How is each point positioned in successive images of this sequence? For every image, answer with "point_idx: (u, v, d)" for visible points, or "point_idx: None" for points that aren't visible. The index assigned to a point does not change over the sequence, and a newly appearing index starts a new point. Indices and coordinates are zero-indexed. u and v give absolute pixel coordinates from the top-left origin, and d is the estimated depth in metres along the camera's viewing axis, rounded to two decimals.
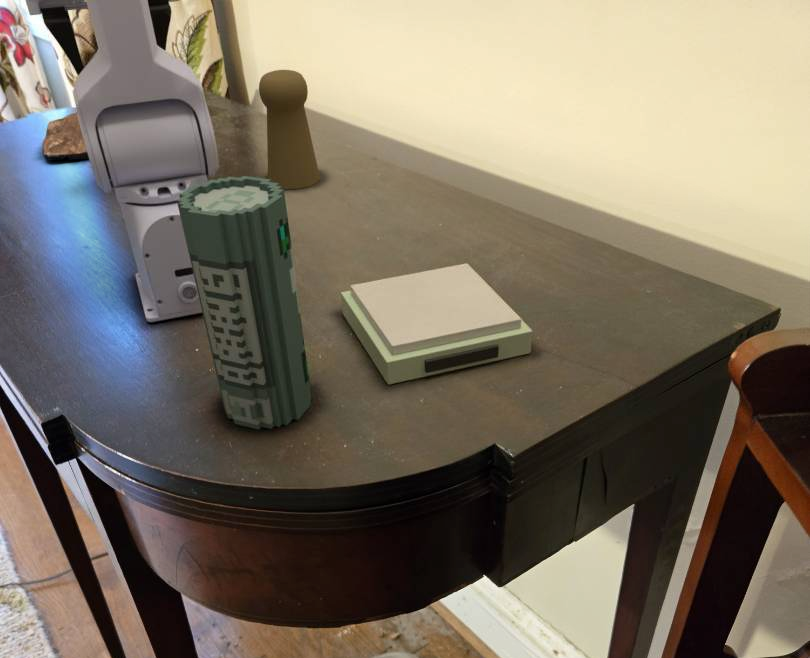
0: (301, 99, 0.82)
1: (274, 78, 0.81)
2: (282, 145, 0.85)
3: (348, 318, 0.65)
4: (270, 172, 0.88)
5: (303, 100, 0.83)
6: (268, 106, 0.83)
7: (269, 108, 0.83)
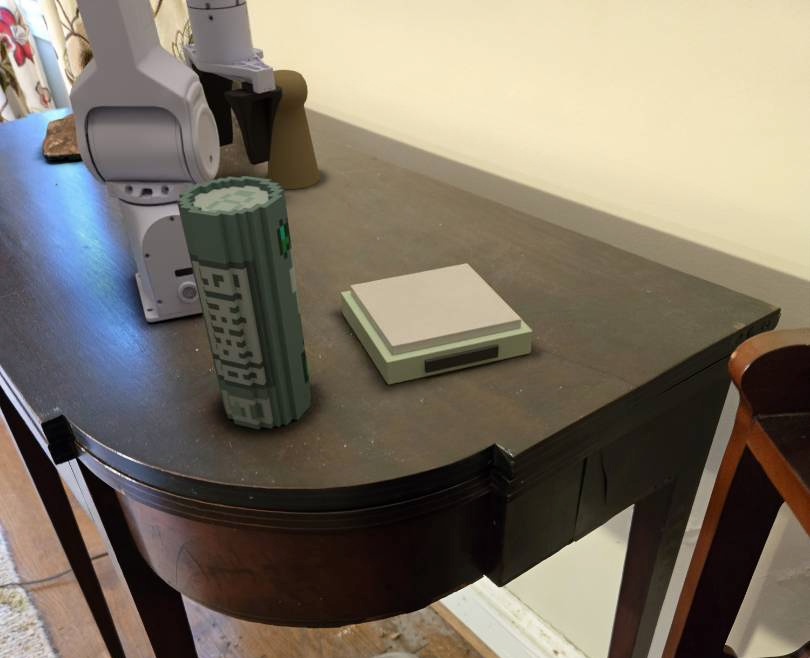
0: (301, 99, 0.82)
1: (274, 78, 0.81)
2: (282, 145, 0.85)
3: (348, 318, 0.65)
4: (270, 172, 0.88)
5: (303, 100, 0.83)
6: None
7: None
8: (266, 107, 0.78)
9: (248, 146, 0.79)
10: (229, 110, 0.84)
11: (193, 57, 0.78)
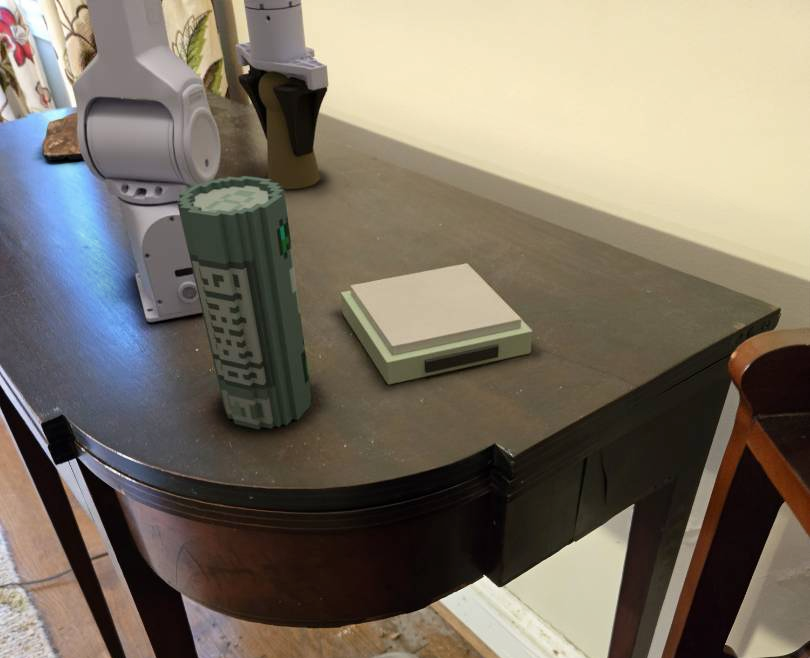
0: None
1: (274, 78, 0.81)
2: (282, 145, 0.85)
3: (348, 318, 0.65)
4: (270, 172, 0.88)
5: None
6: (268, 106, 0.83)
7: (269, 108, 0.83)
8: (311, 101, 0.82)
9: (294, 139, 0.83)
10: None
11: (248, 55, 0.81)
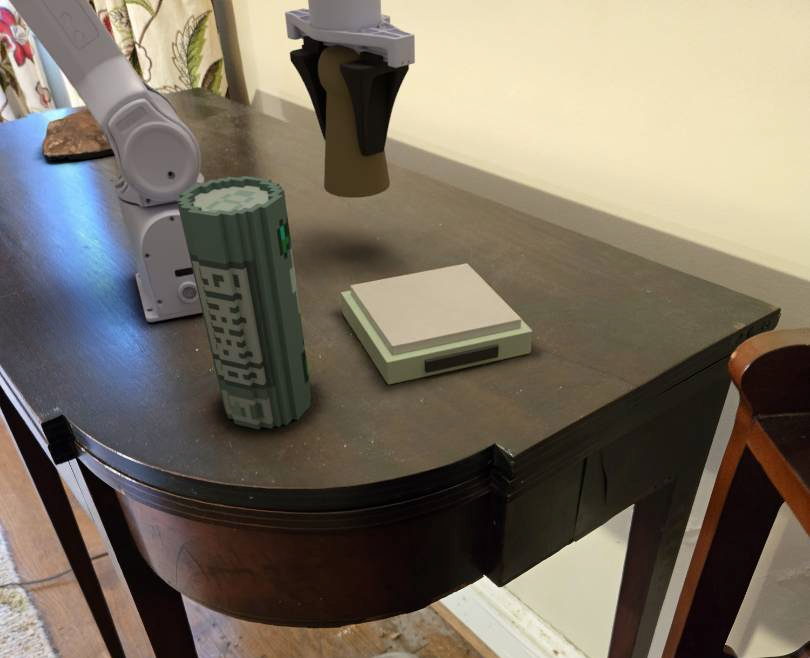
0: None
1: (340, 53, 0.62)
2: (347, 141, 0.66)
3: (348, 318, 0.65)
4: (328, 176, 0.68)
5: None
6: (330, 90, 0.63)
7: (331, 93, 0.64)
8: (387, 84, 0.63)
9: (363, 133, 0.64)
10: None
11: (305, 24, 0.62)
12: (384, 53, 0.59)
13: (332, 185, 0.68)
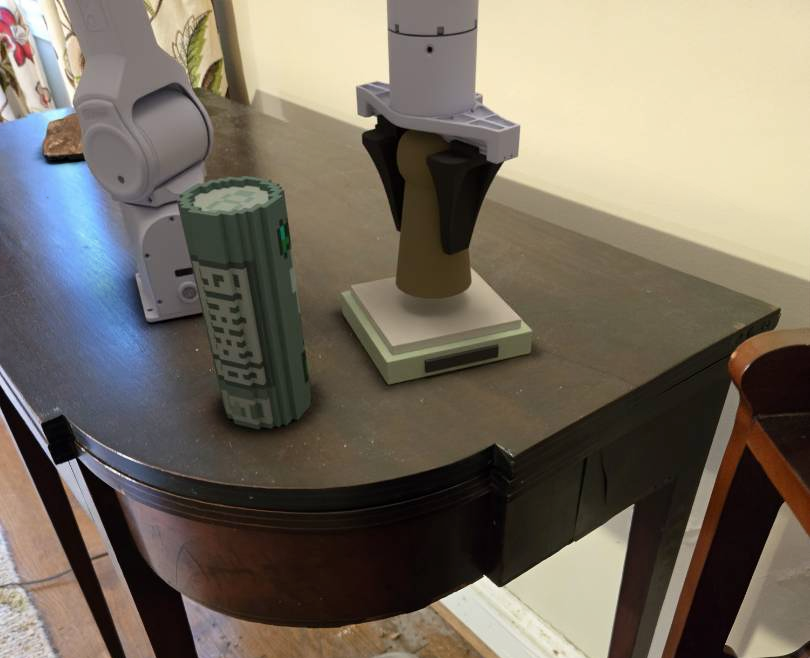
0: None
1: (426, 140, 0.52)
2: (427, 237, 0.56)
3: (348, 318, 0.65)
4: (403, 273, 0.59)
5: None
6: (411, 181, 0.54)
7: (412, 183, 0.54)
8: (479, 175, 0.53)
9: (448, 231, 0.54)
10: None
11: (384, 105, 0.52)
12: (481, 144, 0.50)
13: (407, 284, 0.59)
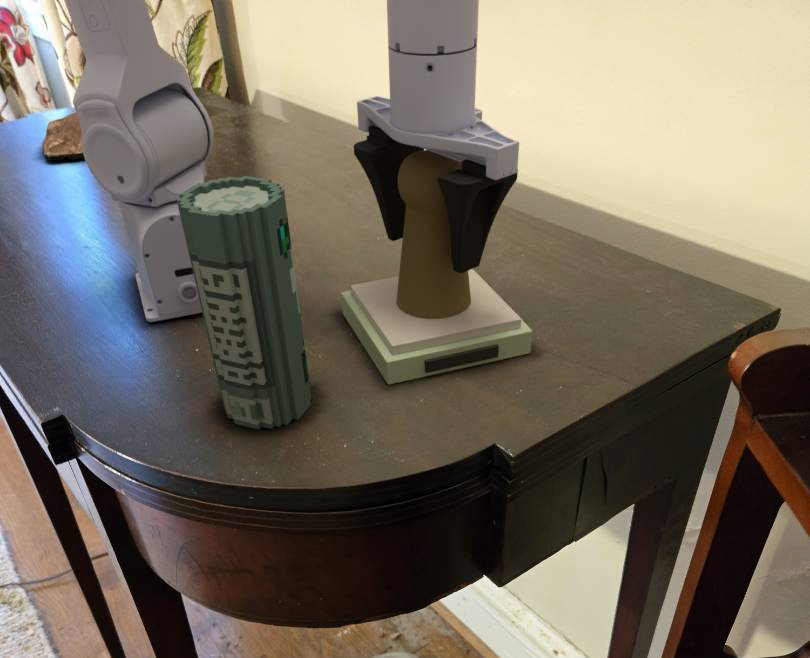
0: None
1: (427, 166, 0.53)
2: (428, 259, 0.57)
3: (348, 318, 0.65)
4: (403, 294, 0.60)
5: None
6: (412, 205, 0.55)
7: (413, 207, 0.55)
8: (490, 194, 0.53)
9: (459, 250, 0.54)
10: None
11: (385, 121, 0.52)
12: None
13: (407, 304, 0.60)
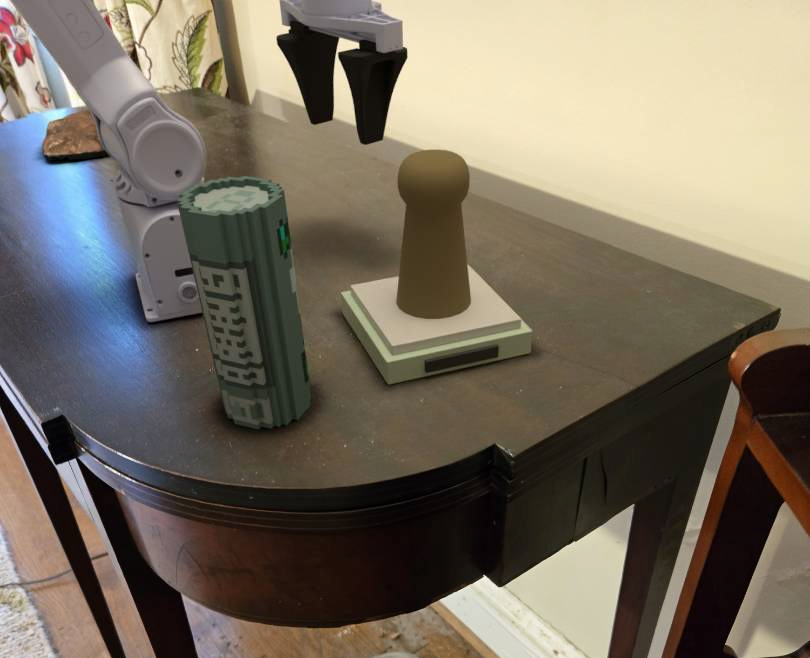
0: (462, 195, 0.55)
1: (426, 166, 0.53)
2: (428, 259, 0.57)
3: (348, 318, 0.65)
4: (403, 294, 0.60)
5: (464, 196, 0.55)
6: (412, 205, 0.55)
7: (413, 208, 0.55)
8: (386, 73, 0.63)
9: (361, 122, 0.65)
10: (331, 79, 0.69)
11: (297, 10, 0.63)
12: None
13: (407, 304, 0.60)
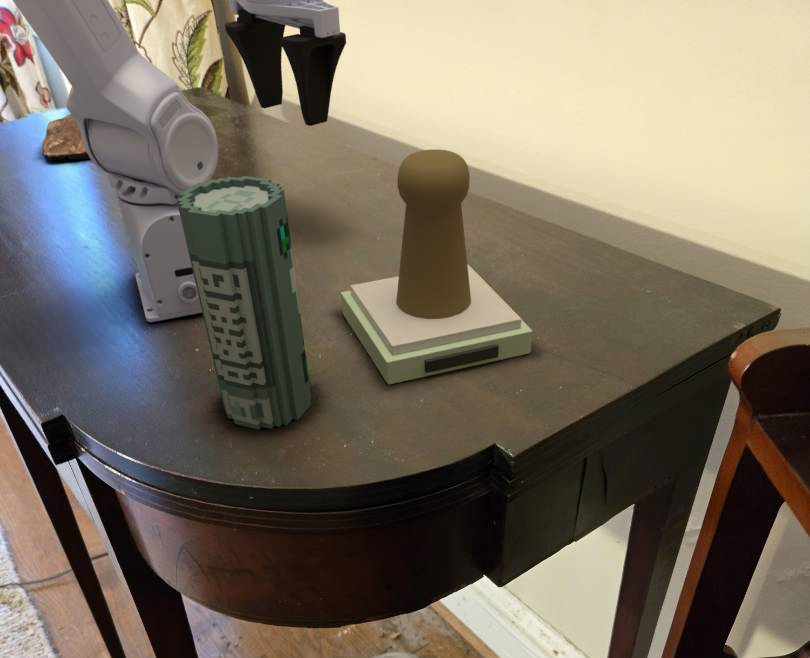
0: (462, 195, 0.55)
1: (426, 166, 0.53)
2: (428, 259, 0.57)
3: (348, 318, 0.65)
4: (403, 294, 0.60)
5: (464, 196, 0.55)
6: (412, 205, 0.55)
7: (413, 207, 0.55)
8: (326, 57, 0.67)
9: (305, 104, 0.69)
10: (279, 65, 0.73)
11: None
12: None
13: (407, 304, 0.60)
